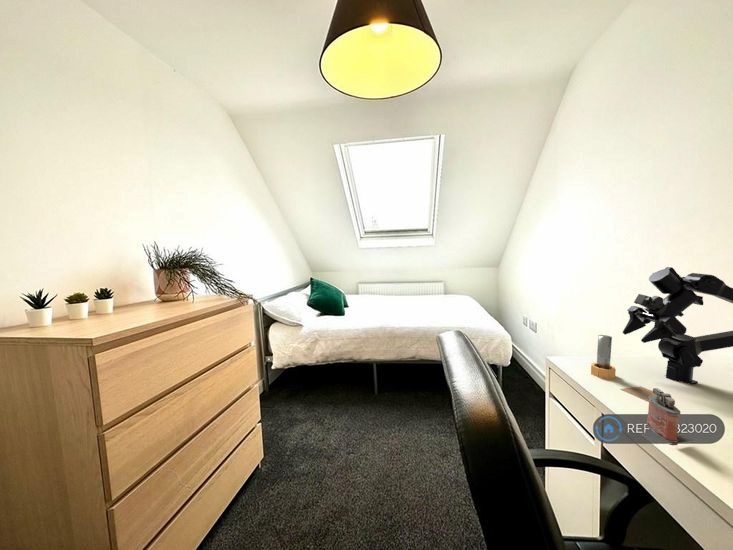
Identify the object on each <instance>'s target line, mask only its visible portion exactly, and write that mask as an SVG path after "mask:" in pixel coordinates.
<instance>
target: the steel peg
mask: <svg viewBox="0 0 733 550" xmlns="http://www.w3.org/2000/svg"><path fill="white" fill-rule="evenodd" d="M612 339H613V337H612V336H610V335H608V334H607V335H605V334H598V335H597V351H596V363H597V366H596V367H598V368H602V369H610V365H611V358H612V343H613V342H612V341H613V340H612Z"/></svg>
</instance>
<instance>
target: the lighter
mask: <svg viewBox="0 0 733 550" xmlns="http://www.w3.org/2000/svg"><path fill="white" fill-rule="evenodd" d="M652 391H653V394H655V395H656V396H648V400H649V402H648V411H647V422H646V425H647V427H648V428H649V429H650V430H651V431H652V432H653V433H655V434H656V435H657V436H659V437H660V438H662V439H663V440H665V441H668V442H671V443H668V445H670V446H678V443H679V439H678V431H679V430H678V429H679V421H680V420H679V418H680V416H681V410H680V409H679V408H678V407H677V406H675V404H676V400H675V399H674V398H673V397H672V395H671V394H670V393H666V392H664V391H663V390H661V389H659V388H658V387H654V388H652Z"/></svg>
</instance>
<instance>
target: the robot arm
mask: <svg viewBox="0 0 733 550" xmlns="http://www.w3.org/2000/svg"><path fill="white" fill-rule="evenodd" d="M648 281H649V282H650V283H651V284H652V285H653V286H654V287H655V288H656V289H657V290H659V292H660V293H662V295H663V294H664V295H667V294H668V295H667V296H665V297H664V298H663V297H662V296H659V295H653V296H648V295H645V294H641V293H638V295H636V296H637V297H635V299H634V301H633V303H634V304H635V305H631V306H629V308H627V313H628V315H629V320H628V322H627V323H626V325H625V327H624V329H623V330H622V334H624V335H628V334H629V335H630V333H633V332H635V331H638V330H640V329H643V328H644V327H647V325H648V324H650V323H651V322H653V323H654V325H653V327H652V328H651V329H650V330H649V331H648V332H647V333H646V334H645V335H644V336H643V337H642V338H641V339H640V341H641V342H642V343H643V344H646V343H649V342H654V341H659V342H658V345H657V347H658V350H659V351H660V352H661V356H662V357H663V358H665V359H668V360H667V365H666V373H665V375H664V376H665V378H666V379H668V380H671V381H673V382H681V383H685V384H688V385H695V384H698V383H699V381H697V380H695V379H693V378H694V377H693V376H694V368H696V367H698V368H699V367H701V366H702V364H703V362H704V360H703V359H702V358H701V357H700V356H699V355H700V354H701V353H702V352H708V351H716V350H721V349H726V348H732V347H733V330H729V331H721V332H716V333H711V334H705V335H698V336H691V335H689V334H686V333H687V327H686V326H685V325H684V324H683V323H682V322H681V321H680V320H679V319H678V318H677V317H680V318H682V317H684V316H685V314H684V313H683V312H684V311H685V310H686V309H688V308H689V307H690V306H692V305H693V304H695V305H697V306H704V296H701V295H697V294H696V293H699V294H703V295H709V296H713V297H715V298H718V299H721V300H723V301H725V302H728V303H730V304H733V287H732V286H731V287H730V286H729V285H727V284H726V283H725V281H724V280H722V279H720V278H718V276H715V275H713V274H705V273H698V272H697V273H696V272H691V273H689V274H687V275H686V276H681V275H680V274H679V273H677V271H676V270H675V268H673V267H670V266H666V267H665V268H663V269H660V270H657V271H656V272H653V273H652V274H650V275H649V277H648ZM636 305H640V306H636ZM641 306H642V307H641ZM643 307H644V308H643Z"/></svg>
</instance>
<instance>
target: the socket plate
mask: <svg viewBox="0 0 733 550" xmlns="http://www.w3.org/2000/svg"><path fill="white" fill-rule="evenodd" d="M590 364H591V365H590V375H593V376H594V377H597V378H601V379H607V380H610V379H611V380H612V379H616V370H617V369H616V366H613V365H611V364H610V369H602V368H598V367H596V366H597V362H591V363H590Z"/></svg>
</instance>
